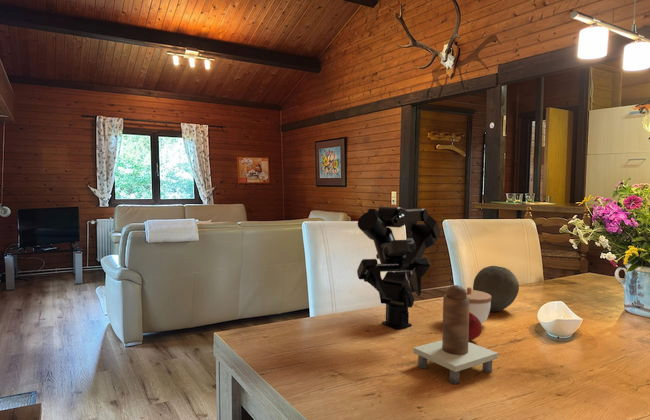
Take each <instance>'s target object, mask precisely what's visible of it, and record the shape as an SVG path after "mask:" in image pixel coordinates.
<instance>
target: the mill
mask: <svg viewBox="0 0 650 420" xmlns="http://www.w3.org/2000/svg"><path fill="white" fill-rule="evenodd" d="M469 300H470V298H469V297H467V294H466V291H465V288H464V287H463V286H462V285H459V284H454V285H451V286H450V287H448V288H447V290H446V293H445V294H444V295H443V298H442V301H443V303H442V339H441V340H442V350H443V351H445V352H447V353H450V354H455V355H463V354H467V353H468V342H469V341H468V338H469Z"/></svg>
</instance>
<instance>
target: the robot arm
mask: <svg viewBox="0 0 650 420" xmlns="http://www.w3.org/2000/svg"><path fill="white" fill-rule="evenodd" d="M416 222H418V223H416ZM421 222H422V223H421ZM406 223H410V225H409V229H410V232H411V234H410V235H411V238H408V237H407V238H406V239H395V236H394V233H393V230H392V229H391V228H398V229H399V228H401V227H404V226H405V225H406ZM357 226H358V227H357V228H358V229H359V230H360V231H361V232H362V233H363V234H364V235H365V236H366V237H367V238H368V239H369V240H372V241H373V244H374V246H375V250H376V255H375V256H376V258H363V259H361V261H360V263H359V265H358V268H357V270H356V274H357V277H358V279H359V280H363V282H365V283H368V284H370V286H371V287H373V289H375V290H376V291H377V292H378V294H379V299H380V304H382V305H383V304H384V305H385V320H383V321H381V324H382V325H385V326H387V327H389V328H391V329H395V330H399V329H403V328H408V327H411V326H413V324H412V323H409V322H410V321H409V315H410V312H409V309H410V308H413V306H414V304H415V297H414V295H413V293H412V290H411V289H412V288H413V290H414V291H415V293H416V295H417V296H418V297H420V296H421V295H422V278H423V277H424V275H425V274H426V272H427V271H428V269H429V268H430V267H431V263H430V261H429V259H428V258H427V257H425V256H424V257H423V255H424V253H425V252H426V250H427V249H428V248H431V247H432V246H434V245H435V244H436V243H437V241H438V240H439V238H440V236H441V229H440V226H439V224H438V221H437V220H435V219H434V218H433V217H432V216H431V215H430V214H429V211H428V210H427V209H426V208H417V207H415V208H413V207H412V208H410V209H406V208H403V207H397V206H379V208H378V210H377V209H376V208H368V210H367V212H365V213H363V214H362V215H361V216H360V217H359V218H358V219H357ZM378 260H379V262H380V263H379V262H378ZM381 272H384V273H385V275H384V276H383V278H382V275H381V274H382V273H381ZM410 283H411V284H410ZM411 285H412V288H411Z"/></svg>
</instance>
